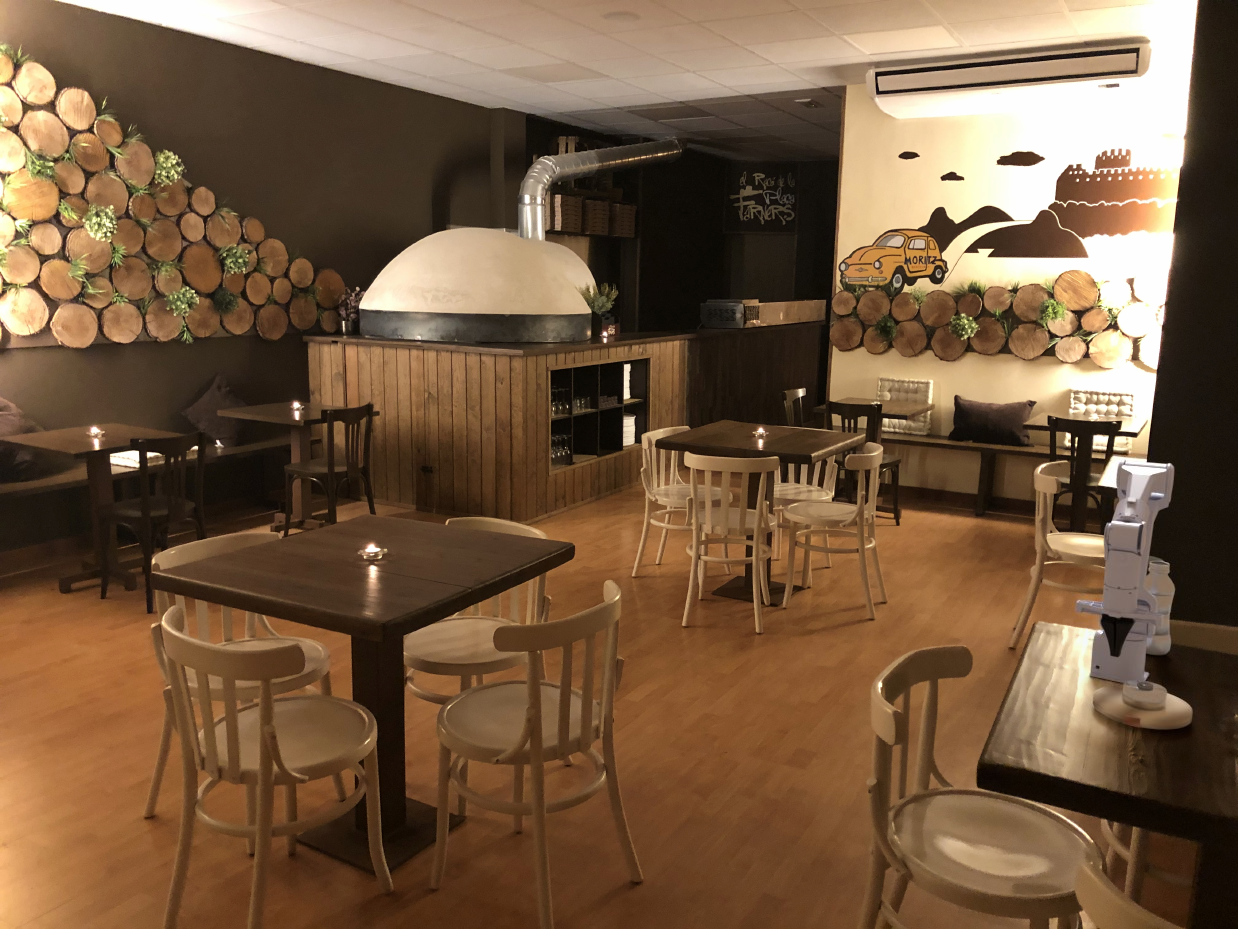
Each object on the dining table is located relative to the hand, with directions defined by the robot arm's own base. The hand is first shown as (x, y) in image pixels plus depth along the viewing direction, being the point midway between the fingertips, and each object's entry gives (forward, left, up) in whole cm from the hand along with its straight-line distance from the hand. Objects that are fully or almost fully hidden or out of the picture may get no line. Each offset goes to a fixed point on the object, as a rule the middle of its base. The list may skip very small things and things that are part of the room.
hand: (1115, 655), depth 182 cm
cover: (+6, -3, -7) cm, 10 cm away
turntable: (+5, -3, -9) cm, 11 cm away
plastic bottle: (+1, +33, -10) cm, 34 cm away
